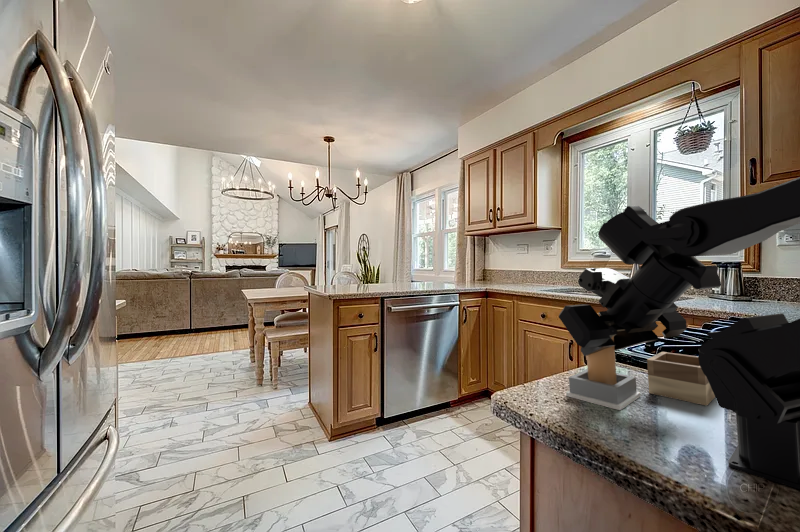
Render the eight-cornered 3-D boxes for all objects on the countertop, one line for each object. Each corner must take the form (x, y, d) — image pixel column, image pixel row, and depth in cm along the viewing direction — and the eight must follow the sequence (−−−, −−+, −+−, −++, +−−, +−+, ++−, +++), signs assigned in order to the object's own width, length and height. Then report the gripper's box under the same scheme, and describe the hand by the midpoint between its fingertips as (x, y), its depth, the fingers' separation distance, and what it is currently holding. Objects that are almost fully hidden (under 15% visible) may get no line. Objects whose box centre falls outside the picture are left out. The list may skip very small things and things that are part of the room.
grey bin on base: (620, 410, 50) (618, 389, 50) (566, 395, 56) (565, 377, 56) (640, 396, 55) (639, 376, 55) (589, 384, 61) (588, 367, 61)
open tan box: (706, 405, 50) (704, 368, 50) (649, 393, 56) (647, 359, 56) (718, 393, 54) (716, 358, 54) (663, 382, 60) (662, 351, 60)
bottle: (619, 386, 53) (615, 322, 53) (590, 384, 54) (587, 322, 55) (613, 378, 57) (609, 318, 57) (586, 377, 58) (582, 318, 58)
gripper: (661, 247, 55) (608, 310, 65) (563, 251, 50) (522, 318, 60) (722, 300, 47) (650, 361, 57) (613, 310, 42) (556, 375, 52)
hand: (593, 351), depth 57 cm, fingers closed on bottle, 4 cm apart
